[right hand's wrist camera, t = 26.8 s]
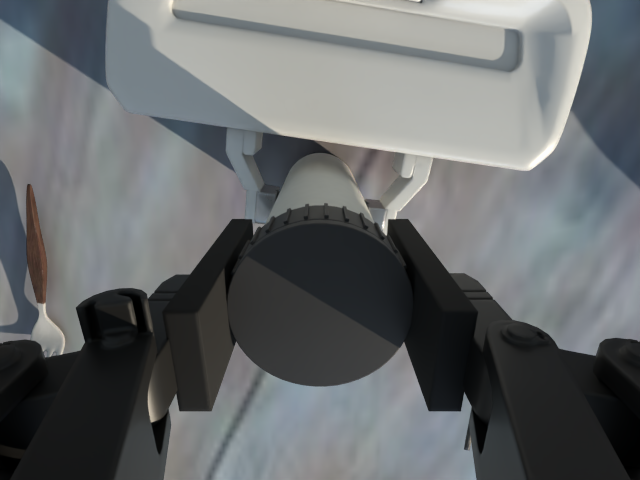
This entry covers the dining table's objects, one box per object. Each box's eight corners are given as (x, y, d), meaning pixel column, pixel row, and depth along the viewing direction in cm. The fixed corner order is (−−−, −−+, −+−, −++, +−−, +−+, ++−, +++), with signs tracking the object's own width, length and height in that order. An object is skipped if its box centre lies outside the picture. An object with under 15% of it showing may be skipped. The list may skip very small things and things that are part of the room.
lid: (238, 346, 13) (226, 384, 11) (236, 196, 11) (220, 213, 9) (391, 355, 13) (401, 393, 11) (415, 207, 11) (432, 226, 9)
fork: (55, 186, 25) (33, 193, 23) (68, 373, 30) (52, 391, 28) (15, 179, 24) (-11, 185, 23) (36, 368, 30) (17, 386, 28)
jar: (273, 200, 25) (215, 320, 11) (307, 139, 24) (288, 189, 10) (332, 232, 26) (345, 382, 12) (368, 175, 24) (431, 270, 11)
